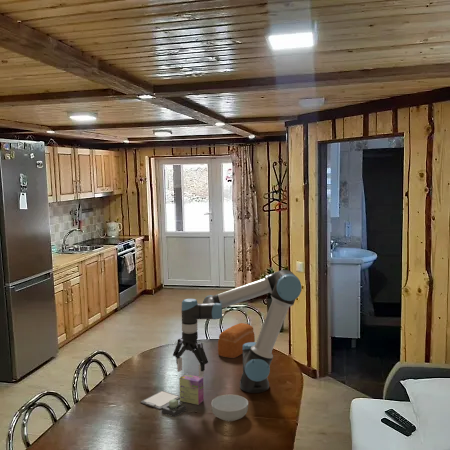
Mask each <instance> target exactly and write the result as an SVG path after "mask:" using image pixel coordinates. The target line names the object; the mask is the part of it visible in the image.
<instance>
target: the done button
mask: <svg viewBox="0 0 450 450" xmlns="http://www.w3.org/2000/svg"><path fill="white" fill-rule="evenodd" d="M178 403H179V399H178V400H176V399H173V400H170V401H169V407H170V408H172V409H176V408H177V407H178Z"/></svg>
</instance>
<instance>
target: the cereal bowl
mask: <svg viewBox="0 0 450 450" xmlns="http://www.w3.org/2000/svg"><path fill="white" fill-rule="evenodd" d="M210 404H211V405H210V406H211V412H212V413H213V416H215V417H216V418H218V419H220V420H223V421H226V422H234V421H237V420H240V419H242V418H244V417H245V416H246V414H247V413H248V409H249V400H248V399H247V398H245V397H244V396H241V395H238V394H223V395H218V396H216V397H215V398H213V399H212V400H211V403H210Z"/></svg>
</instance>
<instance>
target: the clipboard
mask: <svg viewBox="0 0 450 450" xmlns="http://www.w3.org/2000/svg"><path fill="white" fill-rule="evenodd" d="M173 399H176V400H178V401H179V400H180V395H177V394H174V393H172V392H168V391H164V390H160V391H158V392H157V393H155V394H152V395H150V396H148V397H147V398H145V399H142V400H141V401H140V404H143V405H146V406H147V407H148V406H149V407H151V408H154V409H157V410H159V411H160V410H161V411H162V407H163V406H165V405H167V404H169V401H170V400H173Z"/></svg>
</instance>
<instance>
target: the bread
mask: <svg viewBox="0 0 450 450" xmlns="http://www.w3.org/2000/svg"><path fill="white" fill-rule="evenodd" d="M249 342H256V340H255V332H254V327H253V326H252V325H250V324H248V323H243V322H240V323H237V324H234V325H232V326H230V327H228V328H226V329H224V330H223V331H222V332H220V334H219V336H218V341H217V354H218V356H220V357H224V358H231V359H236V358H238V357H240V356H241V355H243V350H242V349H243V344H245V343H249Z"/></svg>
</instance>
